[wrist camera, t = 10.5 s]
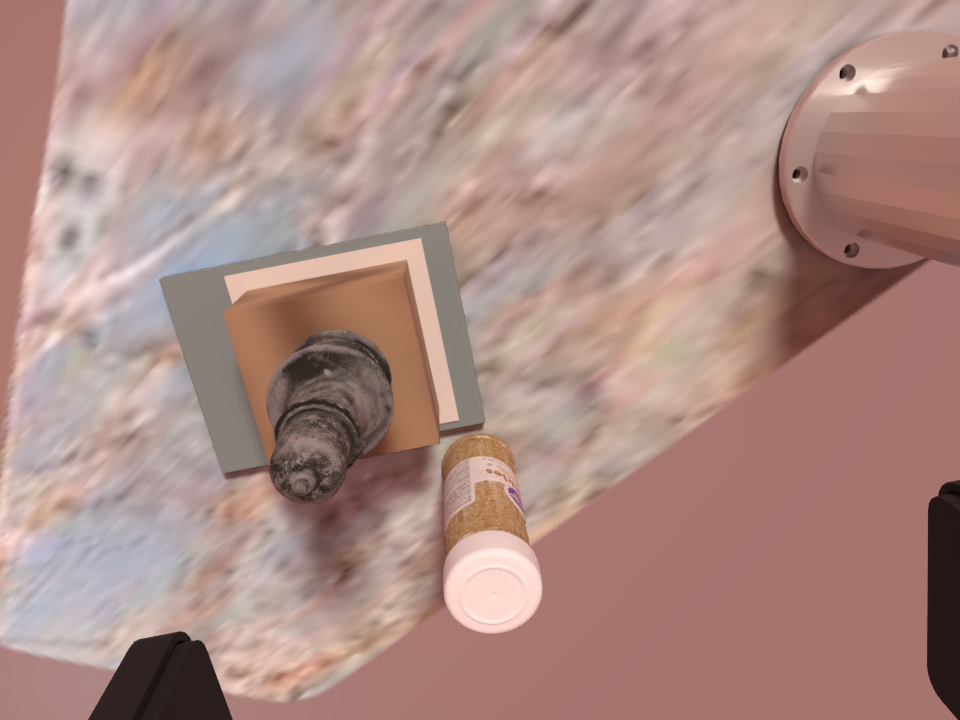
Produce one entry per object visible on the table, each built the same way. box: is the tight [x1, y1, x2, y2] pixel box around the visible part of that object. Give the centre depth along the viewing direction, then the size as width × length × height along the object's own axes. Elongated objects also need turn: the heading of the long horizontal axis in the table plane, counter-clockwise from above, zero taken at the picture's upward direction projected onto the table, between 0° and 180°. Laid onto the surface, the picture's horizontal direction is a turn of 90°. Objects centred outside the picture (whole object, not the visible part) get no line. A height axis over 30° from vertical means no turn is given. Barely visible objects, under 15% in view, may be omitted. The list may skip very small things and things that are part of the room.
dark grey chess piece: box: [266, 330, 394, 504], centre depth 32 cm, size 6×6×12 cm
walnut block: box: [223, 260, 440, 466], centre depth 40 cm, size 9×9×5 cm
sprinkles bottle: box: [442, 434, 542, 634], centre depth 40 cm, size 5×5×13 cm
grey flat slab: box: [159, 222, 485, 473], centre depth 43 cm, size 16×12×1 cm
